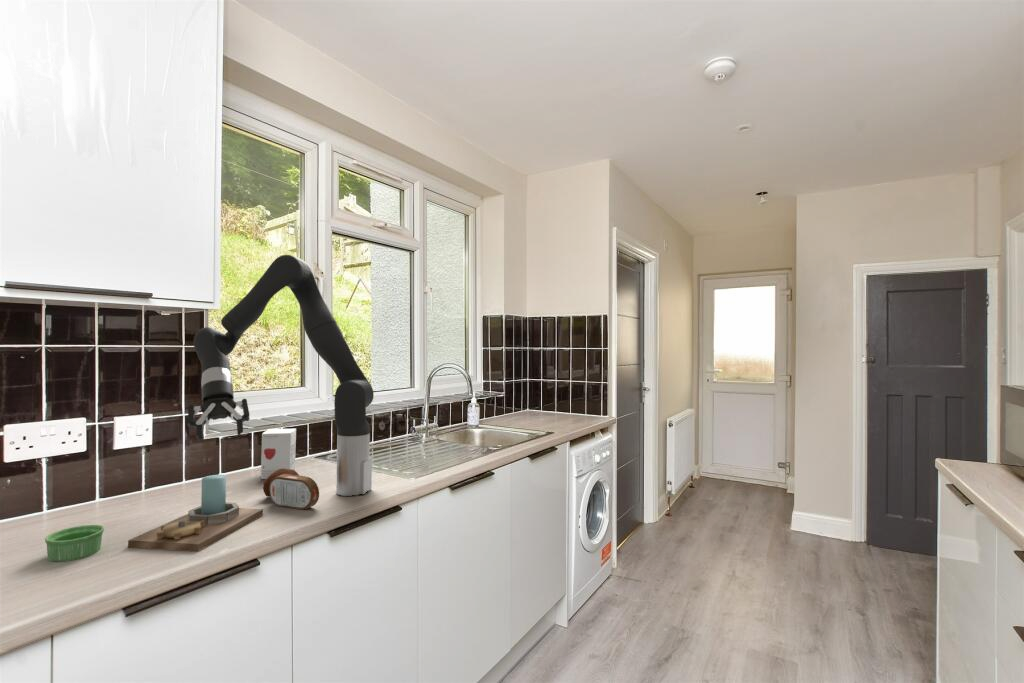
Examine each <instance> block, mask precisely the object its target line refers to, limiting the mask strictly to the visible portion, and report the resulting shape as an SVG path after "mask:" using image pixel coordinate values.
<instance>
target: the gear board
mask: <svg viewBox="0 0 1024 683" xmlns="http://www.w3.org/2000/svg"><path fill="white" fill-rule="evenodd" d="M187 512H188V513H187V514H184V515H182V516H179V517H177V518H176V519H173V520H171V521H169V522H166V523H164V524H162V525H159V526H158V527H157V526H156V528H153V529H151V530H148V531H146V532H144V533H141V534H140V535H137V536H134V537H132V538H130V539H128V540H127V548H135V549H150V550H165V551H166V550H167V551H168V550H169V551H185V552H186V551H188V552H199V551H202V550H203V549H205V548H207V547H208V546H210V545H212V544H214V543H216V542H218V541H219V540H222V538H225V537H227V536H228V535H230V534H232V533H234V532H235V531H238V530H239V529H241V528H242V527H245V526H246V525H248V524H250V523H252V522H253V521H255V520H256V518H257V519H259V518H260V517H262V516H264V509H263V508H245V507H244V508H243V507H240V506H239V504H237V503H236V502H226V507H225V512H223V513H217V514H212V515H201V505H199V506H197V507H194V508H193V509H190V510H189V511H187ZM261 515H262V516H261ZM258 517H259V518H258ZM249 522H250V523H249Z"/></svg>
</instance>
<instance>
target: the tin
mask: <svg viewBox="0 0 1024 683" xmlns="http://www.w3.org/2000/svg"><path fill="white" fill-rule="evenodd" d="M269 494H270V497H269V498H270V499H271V501H272V502H273V504H275V505H276V506H278V507H283V508H288V507H289V509H296V510H301V509H302V510H303V511H304V510H308V509H309V508H311V507H315V505H316V504H317V503H318V502H319V498H320V489H319V486H318V484H317V482H316V481H315V479H314V478H312V477H309V476H306V475H304V476H303V475H292V474H281V475H280V476H277V477H275V478H274V479H272V481H271V482H270V484H269Z"/></svg>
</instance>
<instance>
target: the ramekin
mask: <svg viewBox="0 0 1024 683" xmlns="http://www.w3.org/2000/svg"><path fill="white" fill-rule="evenodd" d="M104 529H105V527H104V526H103V525H99V524H87V525H85V524H84V525H77V526H72V527H68V528H67V527H66V528H63V529H59V530H57V531H54V532H52V533H49V534H48V535H46V537H45V538H44V542H45V544H46V552H47V558H48V559H47V560H49V561H50V562H54V563H55V562H56V563H57V562H58V563H61V562H69V561H75V560H80V559H83V558H86V557H89V556H91V555H93V554H96V553H98V552H99V550H101V546H102V539H103V534H104V532H105V530H104Z"/></svg>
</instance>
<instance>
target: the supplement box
mask: <svg viewBox="0 0 1024 683" xmlns="http://www.w3.org/2000/svg"><path fill="white" fill-rule="evenodd" d="M296 440H297V428H268V429H267V430H265V431H264V432H262V434H261V458H260V459H261V460H260V480H266V479H267V478H268V477H269V476H270V475H271V474H272V473H274V472H275V471H277V470H278V469H284V468H285V469H291V470H295V471H296V449H297V448H296V444H297V441H296Z"/></svg>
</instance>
